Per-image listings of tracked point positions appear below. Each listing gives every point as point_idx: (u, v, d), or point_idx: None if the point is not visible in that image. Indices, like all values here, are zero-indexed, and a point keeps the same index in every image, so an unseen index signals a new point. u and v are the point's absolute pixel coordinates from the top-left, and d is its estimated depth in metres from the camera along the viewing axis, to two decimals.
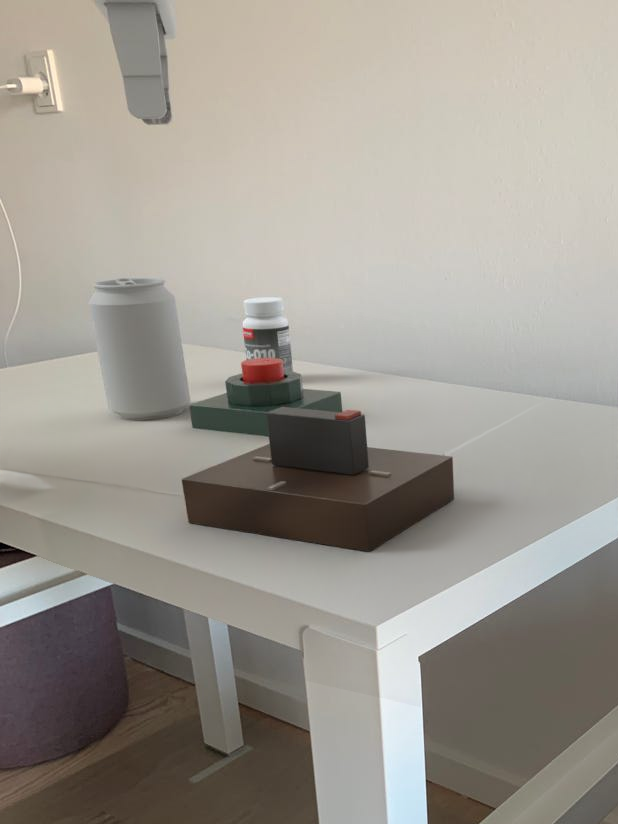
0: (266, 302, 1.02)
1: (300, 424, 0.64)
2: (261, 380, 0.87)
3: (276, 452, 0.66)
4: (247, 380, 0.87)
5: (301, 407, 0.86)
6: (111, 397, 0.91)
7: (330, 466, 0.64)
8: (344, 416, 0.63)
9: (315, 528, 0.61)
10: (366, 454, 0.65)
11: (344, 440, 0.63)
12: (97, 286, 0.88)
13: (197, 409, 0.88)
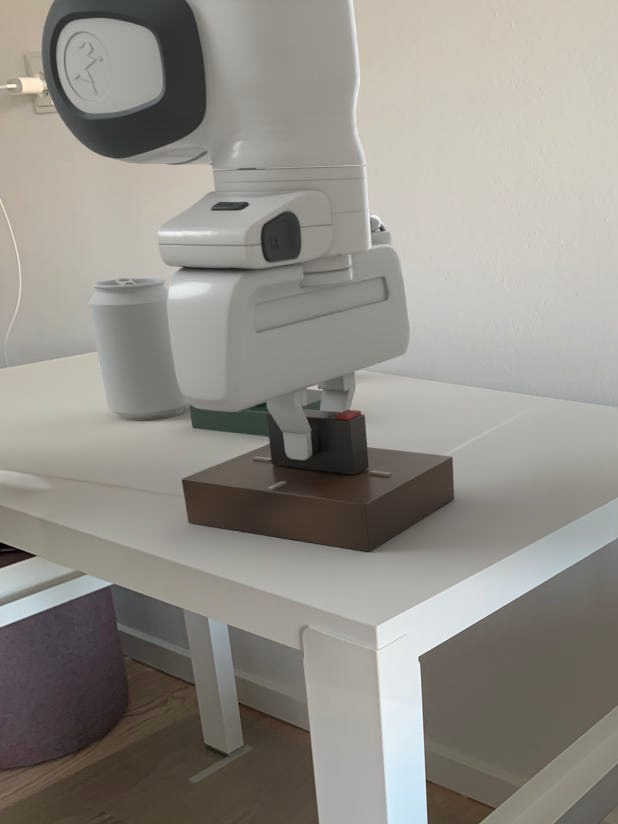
0: None
1: None
2: None
3: (276, 452, 0.66)
4: None
5: None
6: (111, 397, 0.91)
7: (330, 466, 0.64)
8: (344, 416, 0.63)
9: (315, 528, 0.61)
10: (366, 454, 0.65)
11: (344, 440, 0.63)
12: (97, 286, 0.88)
13: (197, 409, 0.88)
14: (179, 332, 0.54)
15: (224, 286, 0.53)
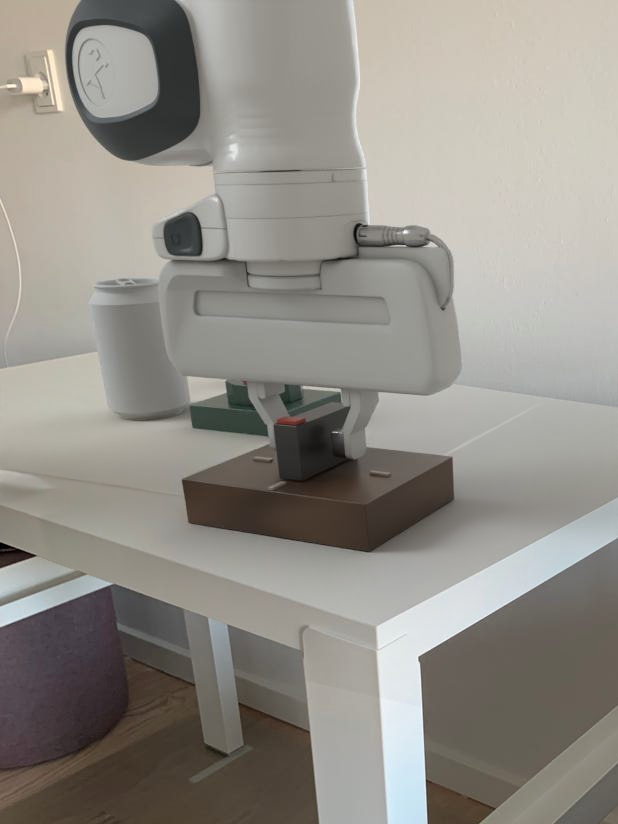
0: None
1: None
2: None
3: None
4: None
5: (301, 407, 0.86)
6: (111, 397, 0.91)
7: None
8: (279, 419, 0.62)
9: (315, 528, 0.61)
10: (298, 466, 0.63)
11: None
12: (97, 286, 0.88)
13: (197, 409, 0.88)
14: None
15: None
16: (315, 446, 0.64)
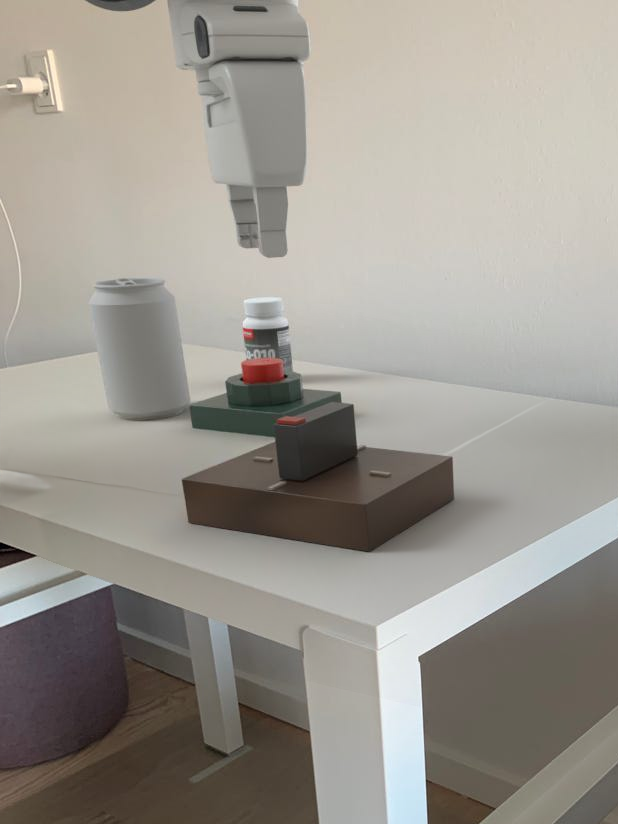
0: (266, 302, 1.02)
1: None
2: (261, 380, 0.87)
3: None
4: (247, 380, 0.87)
5: (301, 407, 0.86)
6: (111, 397, 0.91)
7: None
8: (279, 419, 0.62)
9: (315, 528, 0.61)
10: (298, 466, 0.63)
11: None
12: (97, 286, 0.88)
13: (197, 409, 0.88)
14: (253, 114, 0.63)
15: (291, 71, 0.64)
16: (315, 446, 0.64)
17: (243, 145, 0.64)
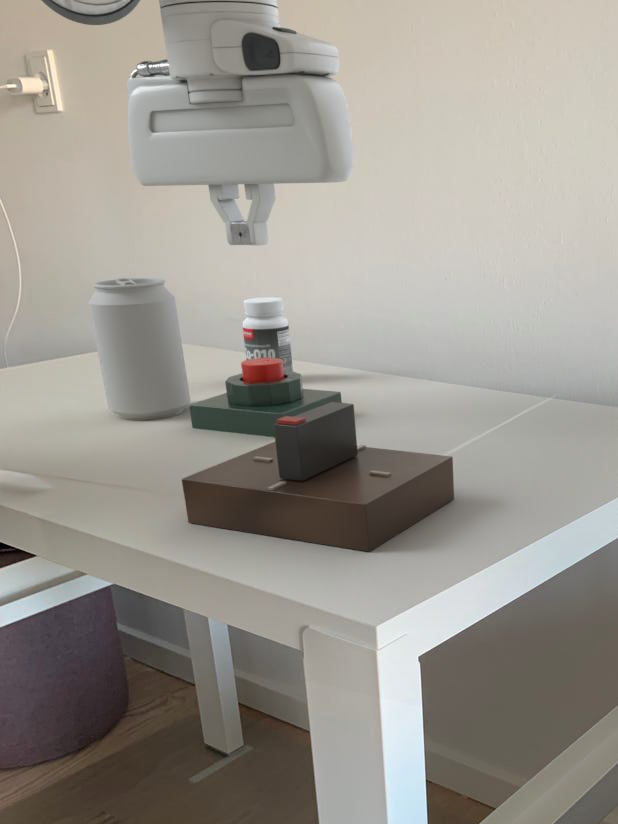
0: (266, 302, 1.02)
1: None
2: (261, 380, 0.87)
3: None
4: (247, 380, 0.87)
5: (301, 407, 0.86)
6: (111, 397, 0.91)
7: None
8: (279, 419, 0.62)
9: (315, 528, 0.61)
10: (298, 466, 0.63)
11: None
12: (97, 286, 0.88)
13: (197, 409, 0.88)
14: (327, 120, 0.75)
15: (336, 86, 0.76)
16: (315, 446, 0.64)
17: (319, 146, 0.75)
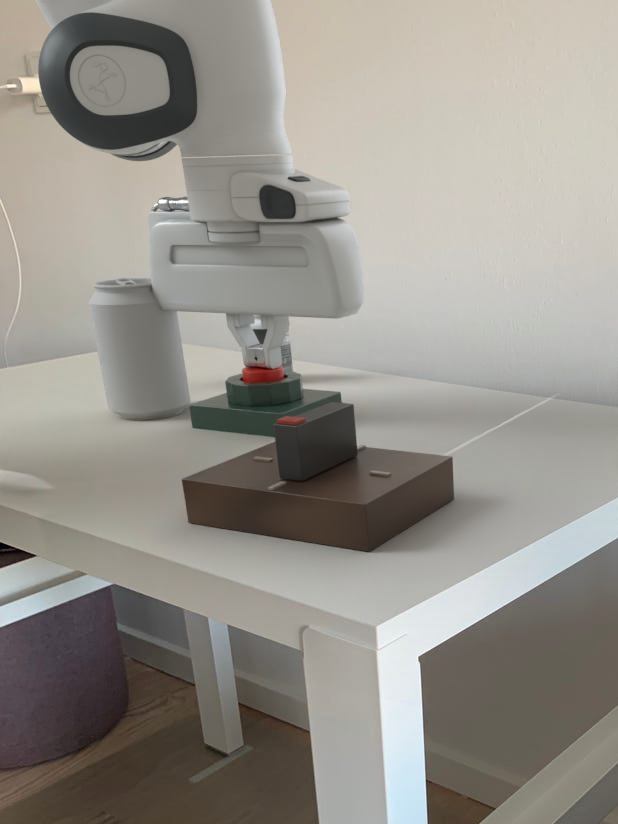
0: None
1: None
2: None
3: None
4: None
5: (301, 407, 0.86)
6: (111, 397, 0.91)
7: None
8: (279, 419, 0.62)
9: (315, 528, 0.61)
10: (298, 466, 0.63)
11: None
12: (97, 286, 0.88)
13: (197, 409, 0.88)
14: (339, 263, 0.79)
15: (348, 228, 0.81)
16: (315, 446, 0.64)
17: (332, 287, 0.80)
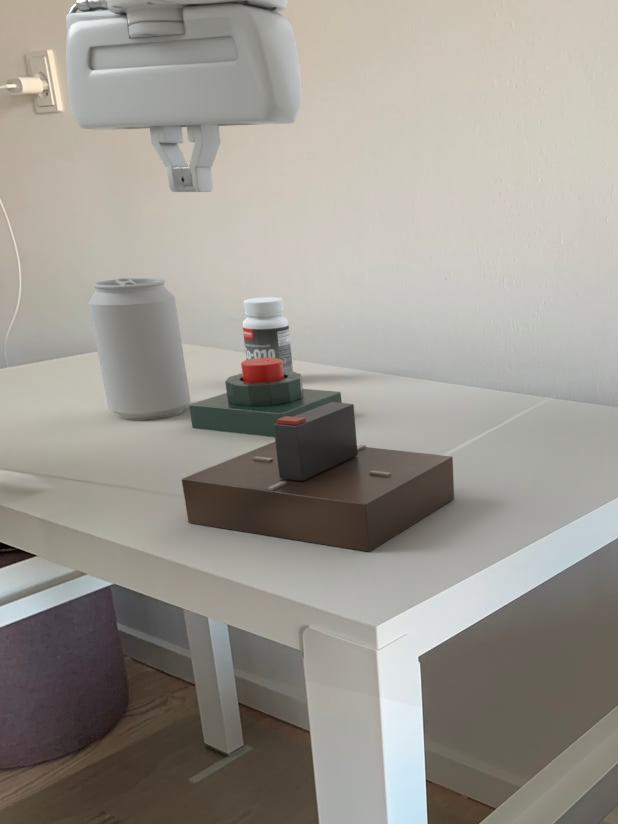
0: (266, 302, 1.02)
1: None
2: (261, 380, 0.87)
3: None
4: (247, 380, 0.87)
5: (301, 407, 0.86)
6: (111, 397, 0.91)
7: None
8: (279, 419, 0.62)
9: (315, 528, 0.61)
10: (298, 466, 0.63)
11: None
12: (97, 286, 0.88)
13: (197, 409, 0.88)
14: (272, 54, 0.71)
15: (284, 20, 0.72)
16: (315, 446, 0.64)
17: (263, 82, 0.71)
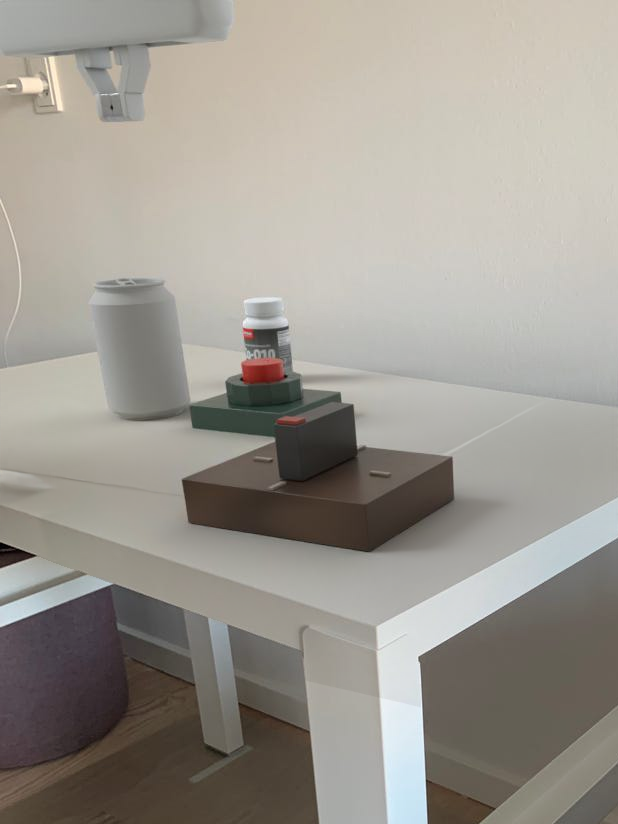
0: (266, 302, 1.02)
1: None
2: (261, 380, 0.87)
3: None
4: (247, 380, 0.87)
5: (301, 407, 0.86)
6: (111, 397, 0.91)
7: None
8: (279, 419, 0.62)
9: (315, 528, 0.61)
10: (298, 466, 0.63)
11: None
12: (97, 286, 0.88)
13: (197, 409, 0.88)
14: None
15: None
16: (315, 446, 0.64)
17: None
